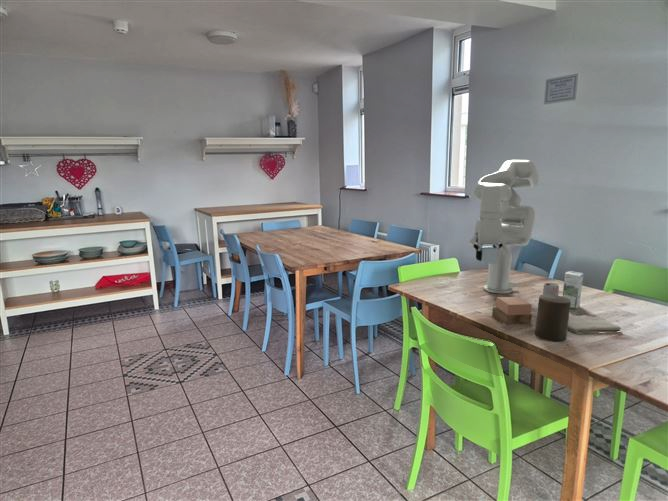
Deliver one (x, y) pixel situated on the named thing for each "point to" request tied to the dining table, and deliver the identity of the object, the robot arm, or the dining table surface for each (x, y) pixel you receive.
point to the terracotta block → (513, 306)
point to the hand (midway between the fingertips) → (486, 259)
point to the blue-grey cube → (489, 255)
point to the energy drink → (551, 289)
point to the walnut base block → (511, 317)
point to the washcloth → (590, 324)
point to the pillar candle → (552, 317)
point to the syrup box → (573, 287)
